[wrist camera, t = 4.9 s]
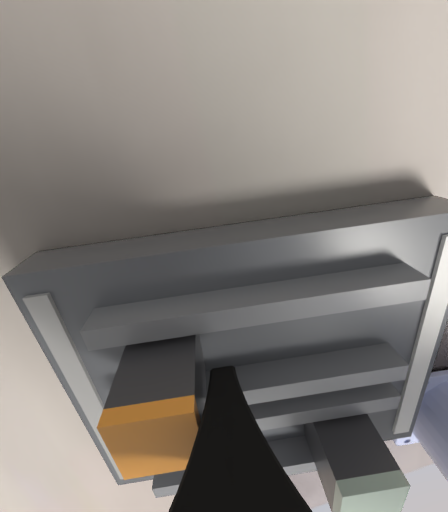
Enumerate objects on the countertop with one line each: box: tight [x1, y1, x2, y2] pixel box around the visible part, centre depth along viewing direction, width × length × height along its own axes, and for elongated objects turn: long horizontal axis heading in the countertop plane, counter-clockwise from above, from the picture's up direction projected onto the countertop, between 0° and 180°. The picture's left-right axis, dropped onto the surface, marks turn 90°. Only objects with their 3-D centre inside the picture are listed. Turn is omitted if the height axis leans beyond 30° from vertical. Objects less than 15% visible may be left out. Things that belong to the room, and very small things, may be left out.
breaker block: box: [2, 196, 448, 512], centre depth 13 cm, size 20×16×7 cm
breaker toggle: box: [97, 334, 206, 480], centre depth 11 cm, size 3×3×4 cm
